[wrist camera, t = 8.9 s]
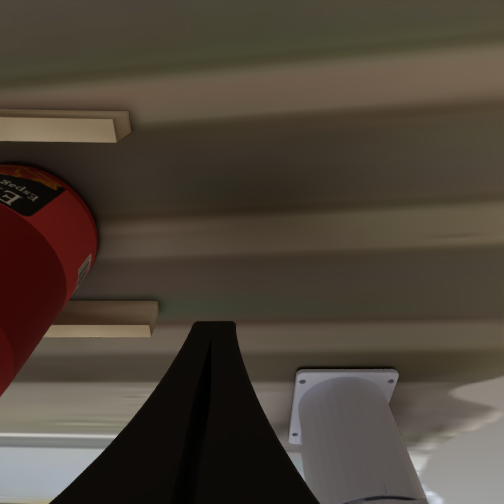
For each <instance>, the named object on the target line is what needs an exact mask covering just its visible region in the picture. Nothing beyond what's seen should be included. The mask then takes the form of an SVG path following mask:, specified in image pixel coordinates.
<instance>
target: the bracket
mask: <svg viewBox="0 0 504 504" xmlns="http://www.w3.org/2000/svg"><path fill="white" fill-rule="evenodd" d="M131 132H132V131H131V124H130V118H129V111H95V110H38V109H0V141H48V142H113V143H117V142H118V141H120V140H121V139H122V138H124V137H125V136H127V135H128V134H129V133H131ZM158 314H159V307H158V301H90V300H69V301H68V302H67V304H66V305H65V307H64V308H63V309H62V311H61V312H60V314H59V315H58V316H57V318H56V319H55V321H54V322H53V324H52V325H51V326H50V328H49V329H48V331H47V332H46V334H45V335H44V336H43V337H151V336H152V333H153V330H154V327H155V324H156V321H157V317H158Z"/></svg>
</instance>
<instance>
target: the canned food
mask: <svg viewBox="0 0 504 504" xmlns="http://www.w3.org/2000/svg"><path fill="white" fill-rule="evenodd" d="M96 251H97V230H96V225H95V222H94V219H93V217H92V215H91V212H90V210H89V209H88V207H87V206H86V204H85V203H84V201H83V200H82V199H81V198H80V197H79V195H78V194H77V193H76V192H75V191H74V190H73V189H72V188H70V187H69V186H68V185H67V184H66V183H64V182H63V181H62V180H60V179H58V178H57V177H55V176H53V175H51V174H50V173H47V172H45V171H42V170H40V169H37V168H34V167H29V166H24V165H0V397H1V395H2V394H3V393H4V391H5V390H6V389H7V388H8V386H9V385H10V383H11V382H12V381H13V379H14V378H15V376H16V375H17V373H18V372H19V371H20V369H21V368H22V366H23V365H24V364H25V362H26V361H27V359H28V358H29V356H30V355H31V354H32V352H33V351H34V349H35V348H36V346H37V345H38V344H39V342H40V341H41V339H42V338H43V336H44V335H45V334H46V332H47V331H48V329H49V328H50V326H51V325H52V324H53V322H54V321H55V319H56V318H57V316H58V315H59V314H60V312H61V311H62V309H63V308H64V307H65V305H66V304H67V302H68V301H69V299H70V298H71V297H72V295H73V294H74V292H75V291H76V289H77V288H78V287H79V285H80V284H81V282H82V281H83V279H84V278H85V277H86V275H87V274H88V272H89V271H90V269H91V267H92V265H93V263H94V260H95V256H96Z"/></svg>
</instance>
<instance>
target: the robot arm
mask: <svg viewBox="0 0 504 504" xmlns="http://www.w3.org/2000/svg"><path fill="white" fill-rule="evenodd" d="M398 377H399V375H398V373H397V371H396V370H395V369H301V370H299V371H297V373H296V379H295V387H294V395H293V403H292V411H291V419H290V427H289V435H288V440H289V443H291V444H300V447H301V455H302V462H303V469H304V476H305V481H304V480H303V478H302V477H301V475H300V474H299V472H298V471H297V469H296V468H295V466H294V464H293V463H292V461H291V459H290V458H289V456H288V454H287V453H286V451H285V450H284V448H283V446H282V445H281V443H280V441H279V440H278V438H277V436H276V434H275V432H274V431H273V429H272V427H271V425H270V423H269V421H268V419H267V417H266V415H265V413H264V411H263V409H262V407H261V405H260V403H259V401H258V398H257V396H256V394H255V391H254V389H253V387H252V384H251V382H250V379H249V377H248V374H247V371H246V368H245V365H244V362H243V359H242V356H241V353H240V349H239V345H238V340H237V335H236V324H235V323H234V322H233V321H196V322H195V323H194V324H193V326H192V328H191V330H190V332H189V334H188V336H187V338H186V340H185V342H184V344H183V346H182V348H181V349H180V351H179V353H178V355H177V356H176V358H175V359H174V361H173V363H172V364H171V366H170V368H169V369H168V371H167V372H166V374H165V375H164V377H163V378H162V380H161V381H160V383H159V384H158V385H157V387H156V388H155V390H154V391H153V393H152V394H151V395H150V397H149V398H148V399H147V401H146V402H145V403H144V405H143V406H142V407H141V409H140V410H139V411H138V412H137V414H136V415H135V416H134V417H133V418H132V420H131V421H130V422H129V423H128V424H127V426H126V427H125V428H124V429H123V430H122V431H121V432H120V434H119V435H118V436H117V437H116V438H115V439H114V440H113V441H112V443H111V444H110V445H109V446H108V447H107V448H106V449H105V450H104V451H103V452H102V453H101V454H100V455H99V456H98V457H97V458H96V459H95V460H94V461H93V462H92V463H91V464H90V465H89V466H88V467H87V468H86V469H85V470H84V471H83V472H82V473H81V474H80V475H79V476H78V477H77V478H76V479H75V480H74V481H73V482H72V483H71V484H70V485H69V486H68V487H67V488H66V489H65V490H64V491H62V492H61V493H60V494H59V495H58V496H57V497H56V498H55V499H54V500H52V501H51V502H50V503H49V504H429V503H428V500H427V498H426V495H425V493H424V490H423V488H422V486H421V483H420V481H419V478H418V476H417V473H416V471H415V468H414V466H413V464H412V461H411V459H410V456H409V454H408V451H407V449H406V446H405V444H404V441H403V439H402V437H401V434H400V432H399V429H398V427H397V424H396V422H395V419H394V417H393V415H392V412H391V410H390V407H389V403H390V400H391V397H392V394H393V391H394V388H395V385H396V383H397V380H398ZM302 379H303V380H302Z"/></svg>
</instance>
